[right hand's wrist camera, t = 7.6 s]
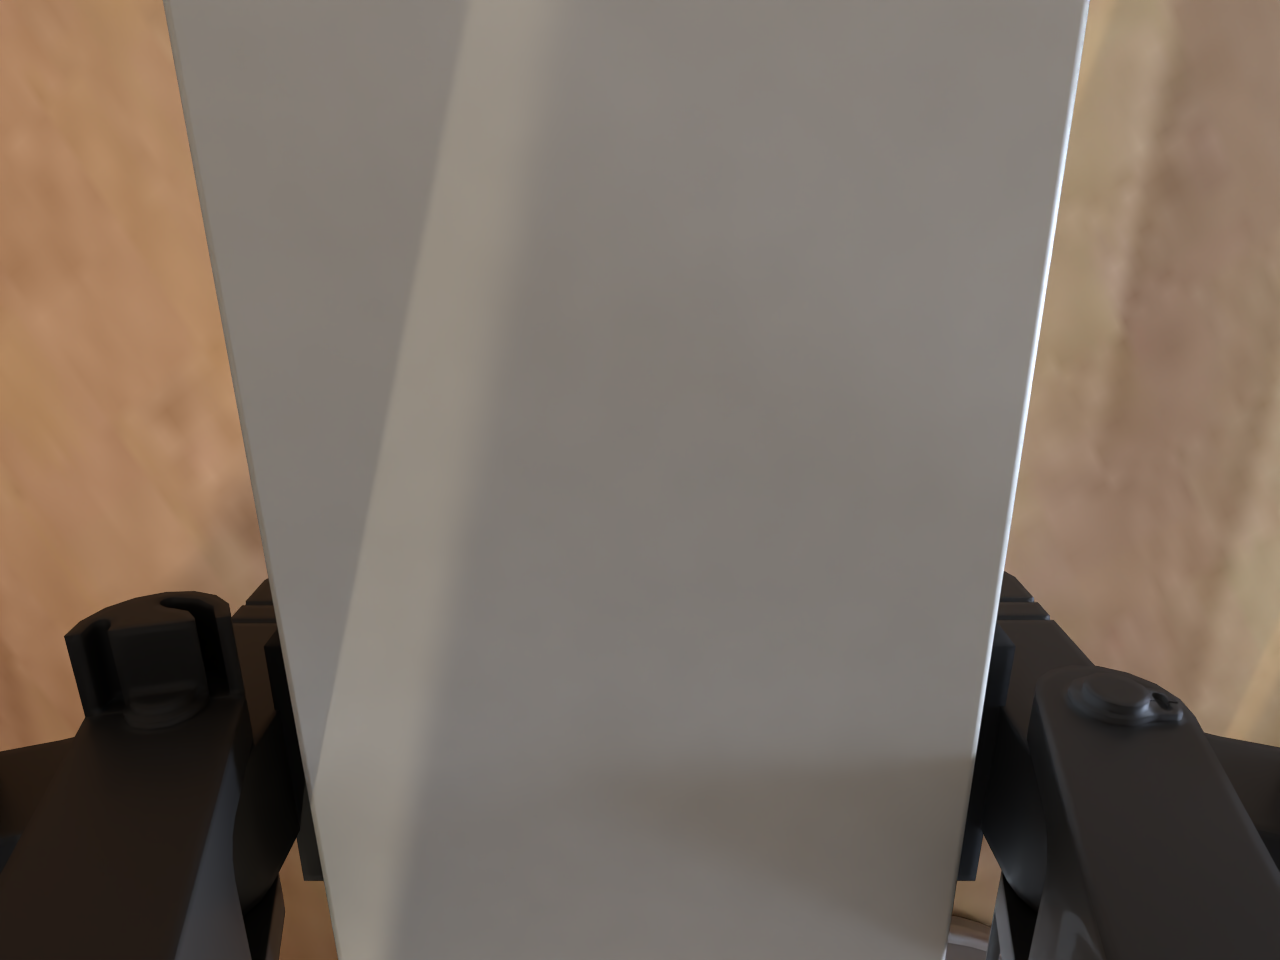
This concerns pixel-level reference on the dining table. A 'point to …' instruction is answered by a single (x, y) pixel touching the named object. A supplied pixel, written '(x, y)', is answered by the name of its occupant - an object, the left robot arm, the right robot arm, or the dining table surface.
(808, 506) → the bar
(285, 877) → the dining table surface
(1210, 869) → the right robot arm
